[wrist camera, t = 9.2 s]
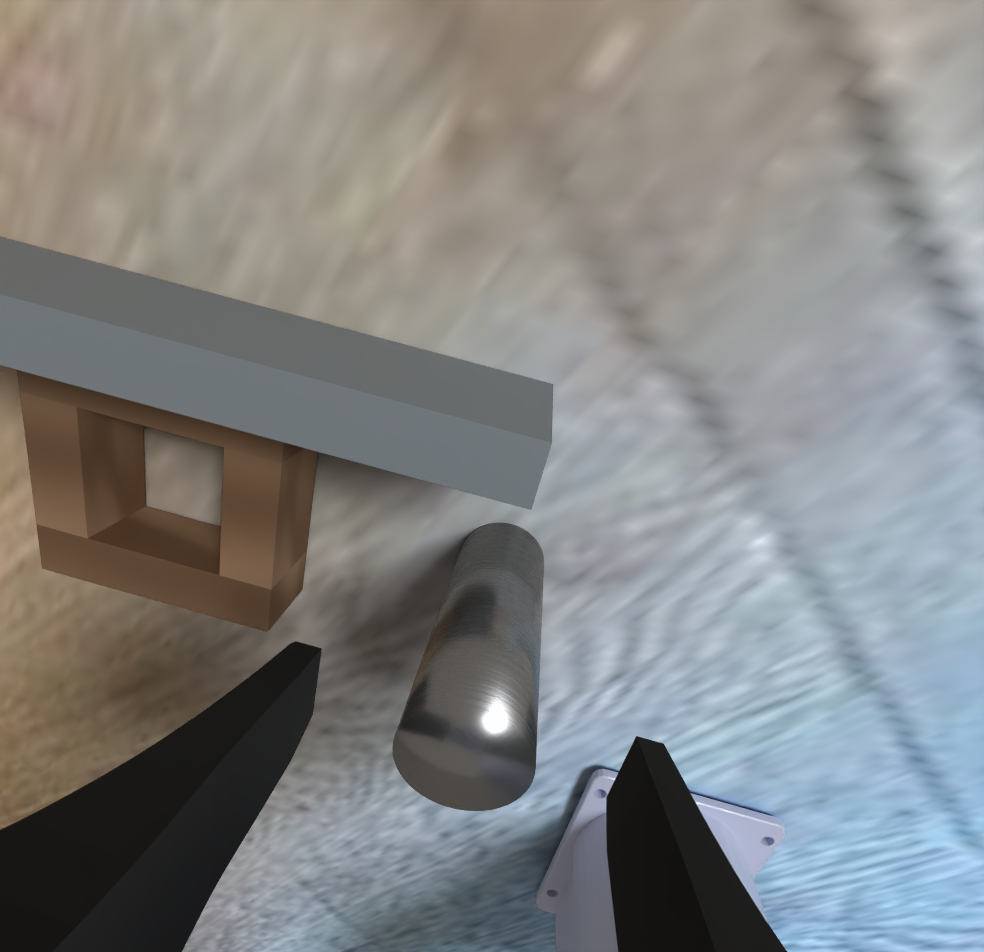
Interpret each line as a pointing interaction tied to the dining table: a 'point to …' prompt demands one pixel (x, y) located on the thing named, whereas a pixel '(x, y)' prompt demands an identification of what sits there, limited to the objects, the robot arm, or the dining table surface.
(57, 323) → the slate wall
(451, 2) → the dining table surface
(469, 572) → the dowel
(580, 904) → the robot arm
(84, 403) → the socket block
